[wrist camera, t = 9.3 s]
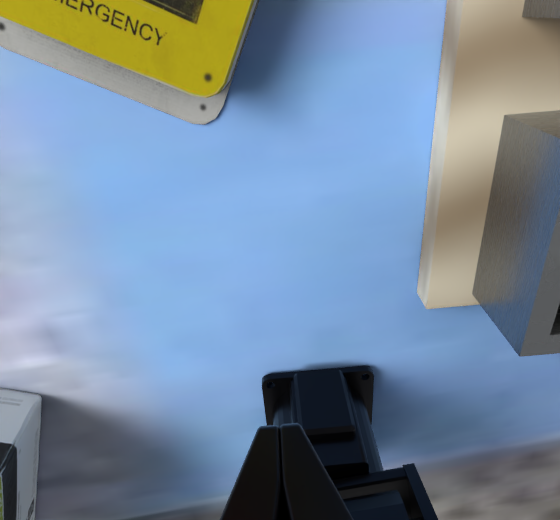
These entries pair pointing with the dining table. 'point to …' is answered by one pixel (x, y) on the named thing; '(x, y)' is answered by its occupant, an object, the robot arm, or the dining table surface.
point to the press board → (478, 130)
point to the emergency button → (137, 47)
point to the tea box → (19, 453)
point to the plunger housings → (524, 227)
